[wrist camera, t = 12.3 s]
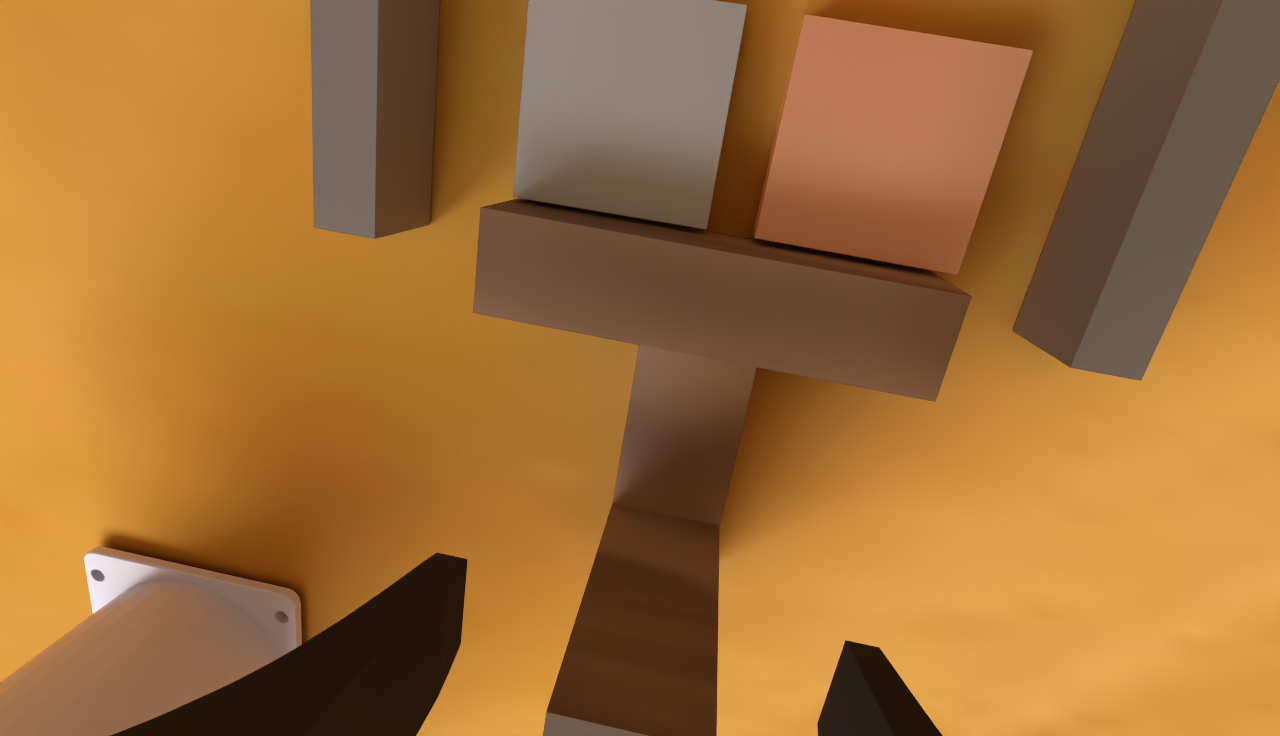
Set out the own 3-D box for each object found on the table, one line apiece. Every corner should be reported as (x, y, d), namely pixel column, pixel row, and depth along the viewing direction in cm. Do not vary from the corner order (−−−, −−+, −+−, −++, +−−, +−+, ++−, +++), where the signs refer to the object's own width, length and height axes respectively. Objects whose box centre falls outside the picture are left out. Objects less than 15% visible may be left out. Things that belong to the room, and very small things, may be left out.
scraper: (825, 597, 20) (899, 920, 12) (490, 524, 21) (330, 780, 12) (929, 271, 17) (1142, 397, 8) (520, 197, 17) (325, 244, 9)
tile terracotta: (938, 264, 17) (957, 274, 16) (752, 231, 17) (754, 238, 16) (1004, 60, 15) (1033, 50, 14) (797, 26, 16) (805, 14, 14)
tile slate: (708, 222, 17) (706, 229, 16) (530, 193, 18) (513, 196, 16) (745, 17, 16) (746, 5, 14) (547, -11, 16) (530, -26, 15)
